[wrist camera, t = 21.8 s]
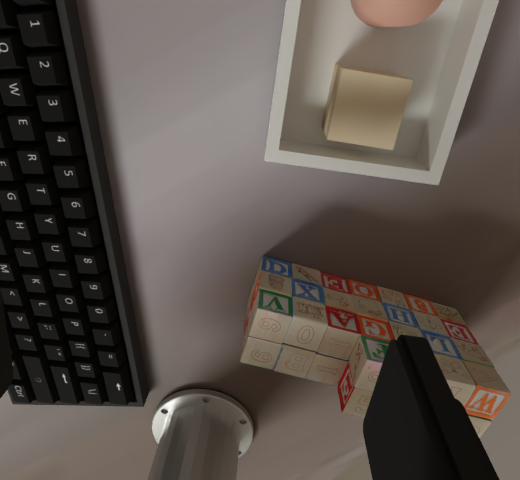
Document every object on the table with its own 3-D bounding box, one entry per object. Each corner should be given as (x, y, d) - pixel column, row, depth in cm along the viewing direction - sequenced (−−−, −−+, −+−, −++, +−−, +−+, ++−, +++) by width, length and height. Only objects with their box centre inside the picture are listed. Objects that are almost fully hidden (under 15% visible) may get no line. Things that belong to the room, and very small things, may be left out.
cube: (379, 135, 37) (392, 150, 32) (321, 126, 37) (327, 139, 32) (396, 74, 35) (413, 80, 30) (334, 63, 34) (342, 68, 30)
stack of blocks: (246, 302, 46) (234, 388, 35) (262, 253, 43) (255, 328, 32) (431, 352, 48) (476, 448, 37) (458, 307, 45) (515, 396, 34)
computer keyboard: (-124, -38, 34) (-170, -46, 31) (70, -46, 33) (45, -55, 30) (24, 387, 54) (7, 411, 50) (149, 389, 53) (140, 414, 49)
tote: (420, 167, 39) (438, 185, 34) (266, 145, 39) (264, 160, 34) (493, -74, 31) (529, -93, 26) (300, -103, 31) (303, -127, 26)
